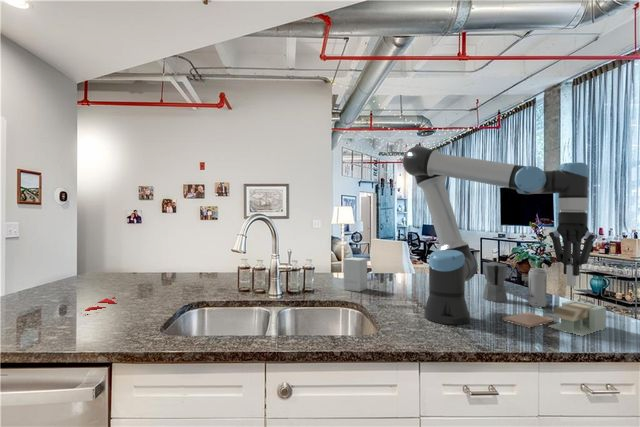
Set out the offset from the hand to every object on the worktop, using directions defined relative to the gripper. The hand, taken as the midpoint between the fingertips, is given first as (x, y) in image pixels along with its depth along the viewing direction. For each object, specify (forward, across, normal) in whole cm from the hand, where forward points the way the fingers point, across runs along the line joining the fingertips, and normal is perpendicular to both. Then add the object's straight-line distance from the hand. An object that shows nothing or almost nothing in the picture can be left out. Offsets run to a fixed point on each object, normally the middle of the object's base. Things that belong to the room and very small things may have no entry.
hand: (571, 285), depth 109 cm
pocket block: (+14, -1, -2) cm, 14 cm away
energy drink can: (+14, +20, -18) cm, 31 cm away
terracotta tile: (+14, +11, +4) cm, 18 cm away
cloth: (+17, +103, +132) cm, 169 cm away
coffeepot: (+15, +34, -12) cm, 39 cm away
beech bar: (+10, -1, -1) cm, 10 cm away
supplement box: (+15, +80, +28) cm, 86 cm away
